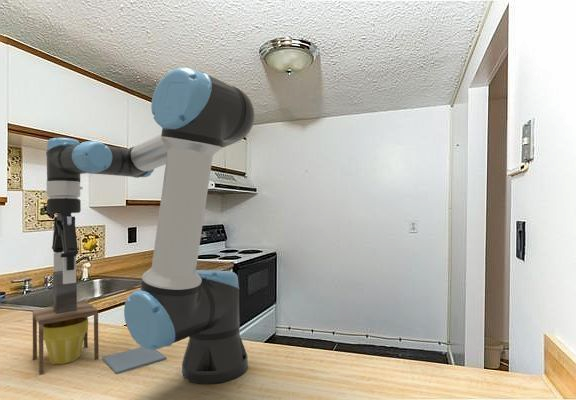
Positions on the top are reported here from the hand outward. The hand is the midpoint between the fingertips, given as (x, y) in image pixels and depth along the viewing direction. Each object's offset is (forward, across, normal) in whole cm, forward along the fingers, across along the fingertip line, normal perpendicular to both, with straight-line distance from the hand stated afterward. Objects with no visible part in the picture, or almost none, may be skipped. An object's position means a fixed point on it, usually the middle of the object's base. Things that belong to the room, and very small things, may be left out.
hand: (64, 279), depth 94 cm
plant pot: (+21, 0, 0) cm, 21 cm away
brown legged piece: (+20, 0, 0) cm, 20 cm away
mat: (+20, -13, -13) cm, 28 cm away
